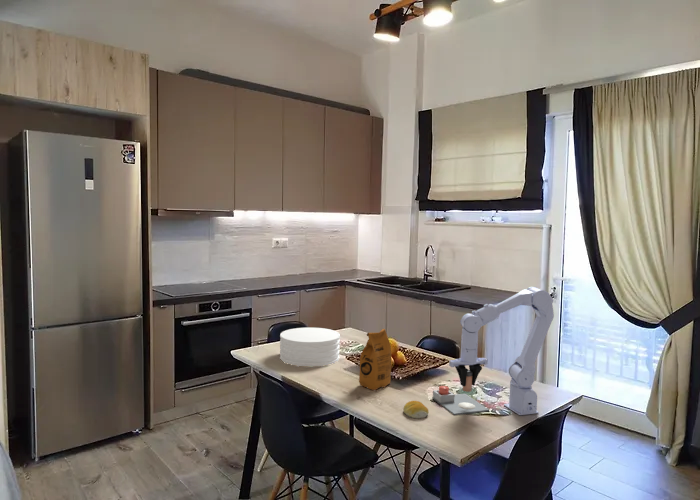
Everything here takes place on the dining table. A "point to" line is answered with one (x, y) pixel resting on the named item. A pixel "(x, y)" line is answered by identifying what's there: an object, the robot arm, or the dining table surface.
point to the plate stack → (309, 346)
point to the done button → (443, 390)
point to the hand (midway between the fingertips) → (467, 385)
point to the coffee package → (376, 361)
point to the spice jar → (468, 382)
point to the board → (458, 403)
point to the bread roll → (415, 409)
